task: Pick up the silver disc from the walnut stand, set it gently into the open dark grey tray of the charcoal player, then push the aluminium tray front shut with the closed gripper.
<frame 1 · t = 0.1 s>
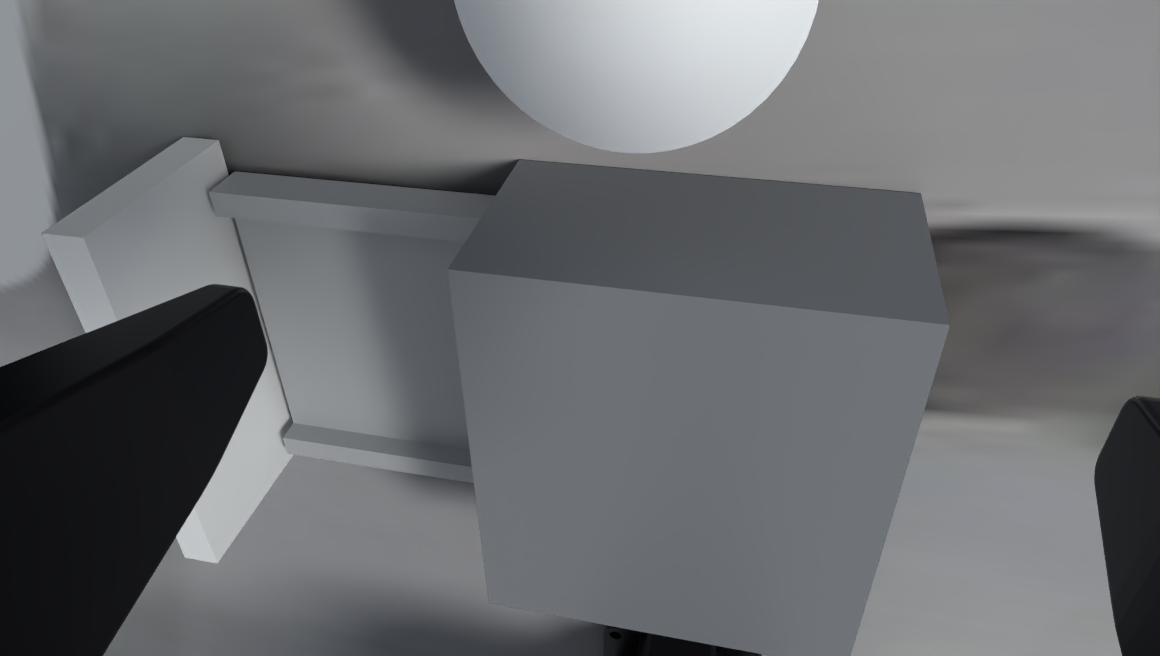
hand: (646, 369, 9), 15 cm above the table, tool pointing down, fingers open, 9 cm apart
tray: (343, 379, 26), point 3 cm above the table, slide at 9.0 cm
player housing: (678, 352, 27), on the table
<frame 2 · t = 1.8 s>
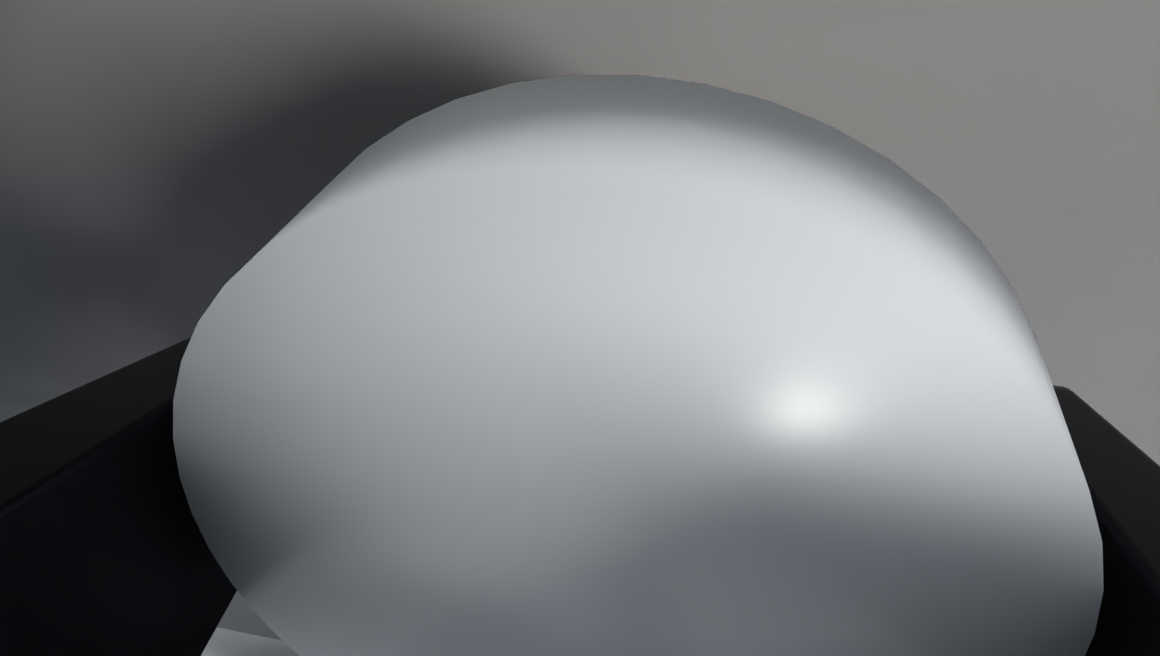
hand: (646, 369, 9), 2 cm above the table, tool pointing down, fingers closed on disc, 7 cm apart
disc: (627, 445, 8), point 4 cm above the table, touching gripper, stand
when the fingers open (3 cm above the table, at t = 6.4 s): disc drops 3 cm, resting on tray.
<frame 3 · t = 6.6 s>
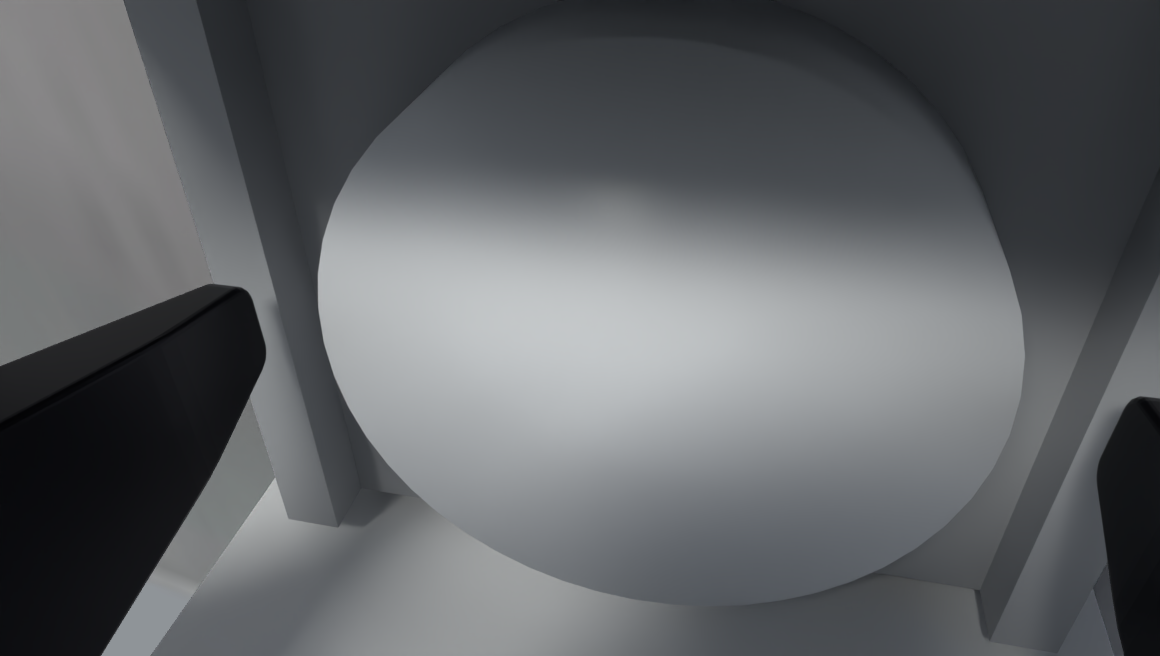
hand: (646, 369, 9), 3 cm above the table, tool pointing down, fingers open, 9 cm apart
tray: (629, 443, 8), point 3 cm above the table, slide at 9.0 cm, touching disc
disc: (663, 298, 10), point 1 cm above the table, touching tray
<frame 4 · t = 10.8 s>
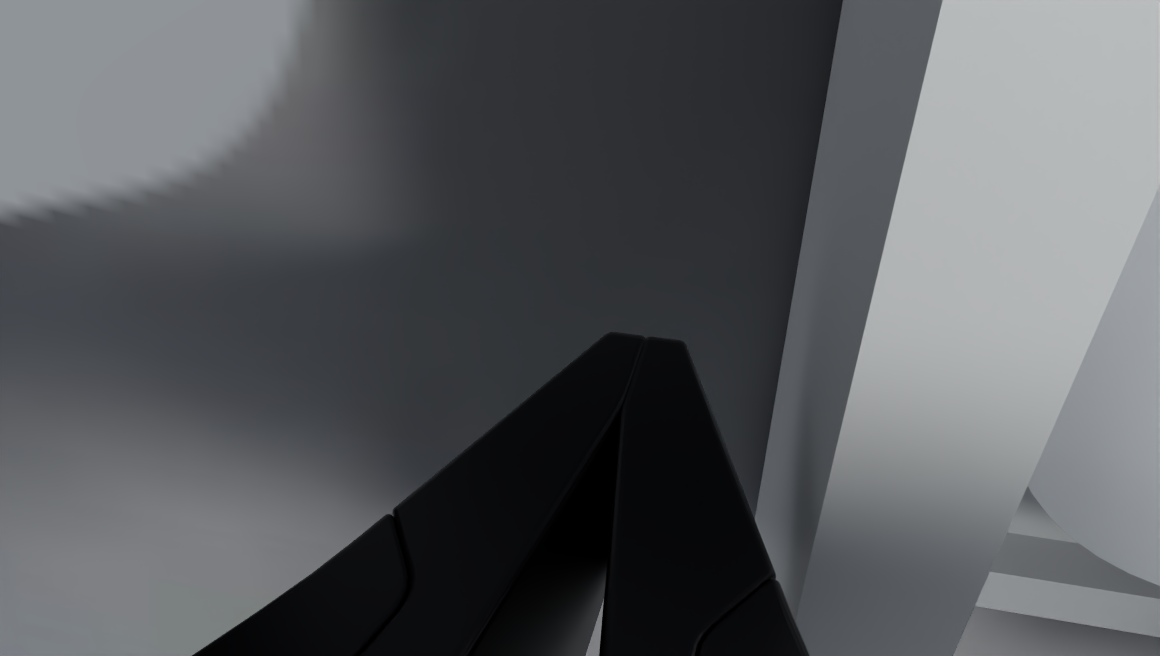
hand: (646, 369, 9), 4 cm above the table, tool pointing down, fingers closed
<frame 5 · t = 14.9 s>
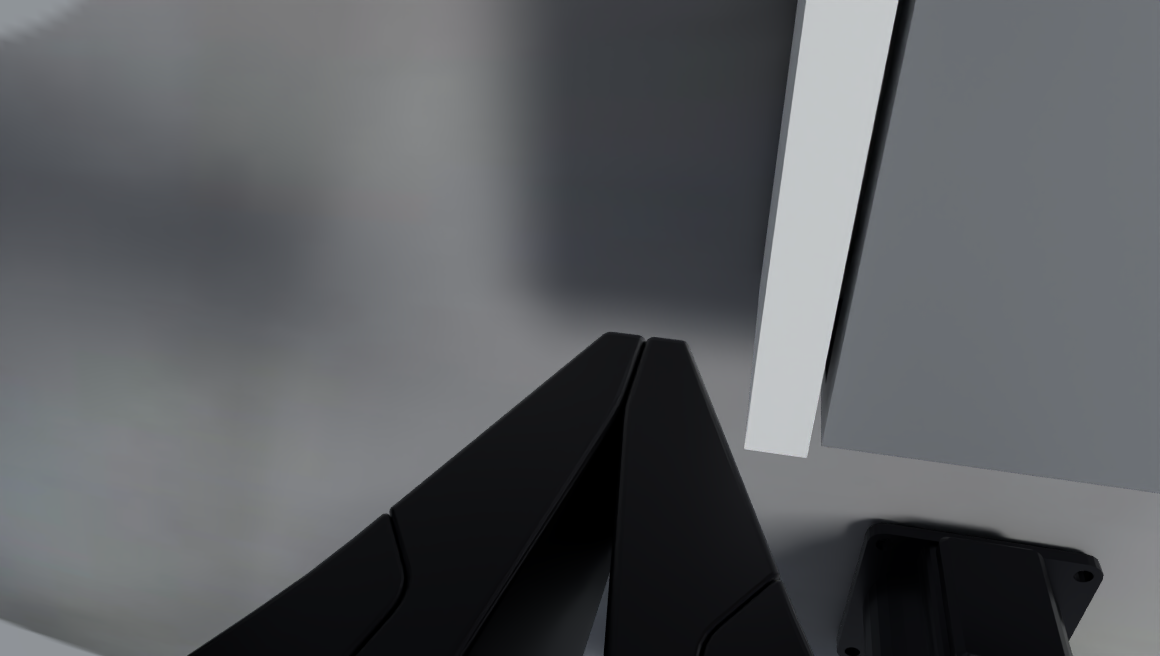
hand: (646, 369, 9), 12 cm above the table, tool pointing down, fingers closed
tray: (1121, 108, 14), point 3 cm above the table, slide at 0.0 cm, touching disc
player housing: (1121, 48, 17), on the table
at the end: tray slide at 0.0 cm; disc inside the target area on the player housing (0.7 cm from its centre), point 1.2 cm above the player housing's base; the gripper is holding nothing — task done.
